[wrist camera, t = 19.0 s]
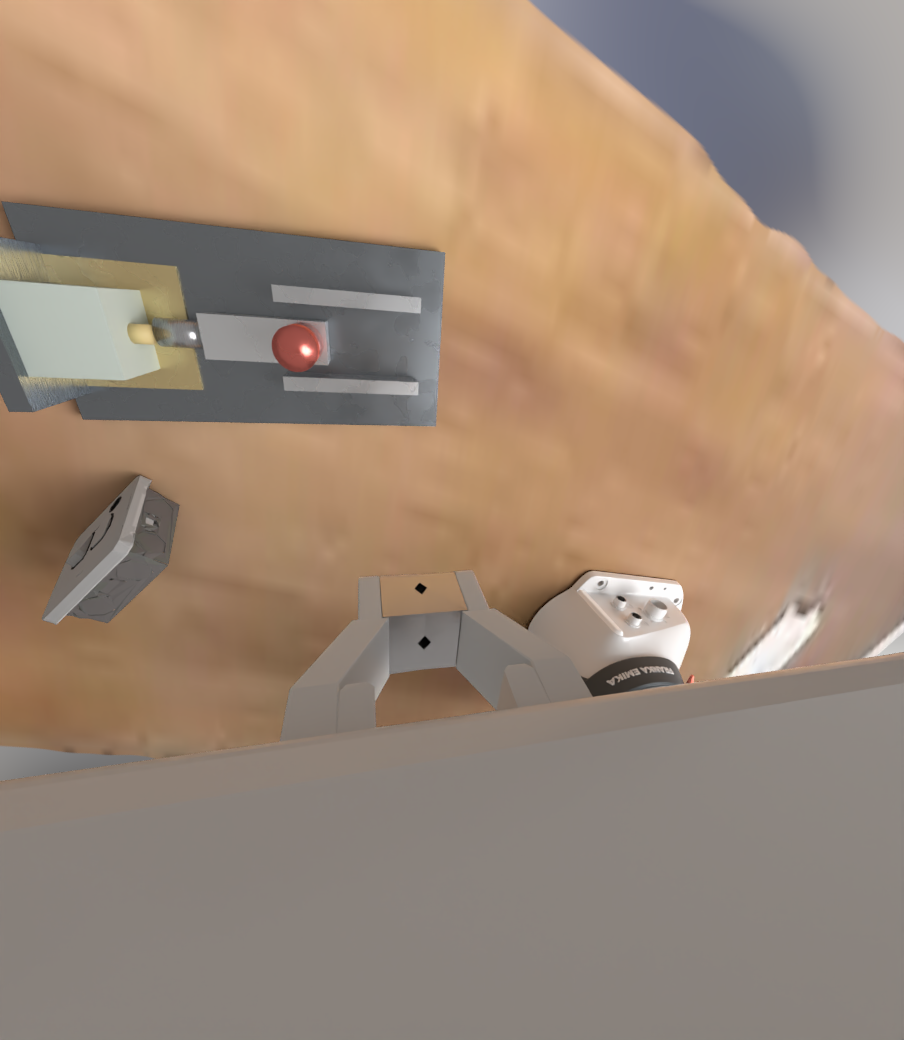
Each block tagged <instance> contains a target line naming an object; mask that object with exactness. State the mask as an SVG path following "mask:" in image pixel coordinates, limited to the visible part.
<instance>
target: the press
mask: <svg viewBox="0 0 904 1040" xmlns="http://www.w3.org/2000/svg"><path fill="white" fill-rule="evenodd" d="M1 202H2V201H1ZM2 205H3V207H4V210H5V213H6V215H7V218H8V221H9V223H10V226H11V229H12V231H13V234H14V237H15V239H16V240H13V239H7V238H2V237H0V280H10V281H26V282H41V283H56V284H68V285H80V286H93V287H105V288H117V289H130V290H140V293H141V297H142V301H143V305H144V308H145V312H146V316H147V320H148V323H149V325H151V326H152V320H153V318H155V317H158V318H172V319H187V320H197V316H196V313H203V312H216V313H230V314H243V315H257V316H271V317H284V318H298V319H312V320H326V321H328V329H329V343H330V358H331V361H330V363H329V365H313V366H312V367H311V368H310V369H308V370H306V371H304V372H293V371H290V370H288V369H286V368H284V367H283V366H282V365H280V364H279V363H270V362H250V361H230V360H210V359H205V354H204V349H195V348H177V347H161V346H160V345H159V344H158V343H157V342H156V344H155V345H154V346H155V350H156V354H157V358H158V361H159V365H160V369H159V370H156V371H153V372H149V373H146V374H143V375H140V376H137V377H134V378H131V379H128V380H101V379H75V378H48V377H29V376H28V373H27V371H26V369H25V366H24V364H23V361H22V359H21V357H20V354H19V352H18V349H17V347H16V345H15V342H14V340H13V338H12V335H11V333H10V330H9V328H8V326H7V323H6V321H5V318H4V316H3V314H2V311H1V309H0V393H1V395H2V397H3V400H4V402H5V404H6V406H7V408H8V411H9V412H35V411H38V410H41V409H44V408H47V407H50V406H53V405H56V404H59V403H62V402H65V401H68V400H71V399H74V398H75V399H76V402H77V405H78V407H79V410H80V413H81V415H82V418H83V419H88V420H140V421H191V422H242V423H293V424H345V425H396V426H436V413H437V395H438V376H439V357H440V339H441V320H442V302H443V283H444V265H445V252H436V251H428V250H419V249H410V248H401V247H393V246H384V245H375V244H367V243H358V242H349V241H341V240H332V239H323V238H315V237H306V236H297V235H289V234H280V233H271V232H263V231H254V230H245V229H236V228H228V227H219V226H210V225H202V224H193V223H184V222H176V221H167V220H158V219H150V218H141V217H132V216H124V215H115V214H106V213H97V212H89V211H80V210H71V209H63V208H54V207H45V206H37V205H28V204H19V203H11V202H2Z"/></svg>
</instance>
